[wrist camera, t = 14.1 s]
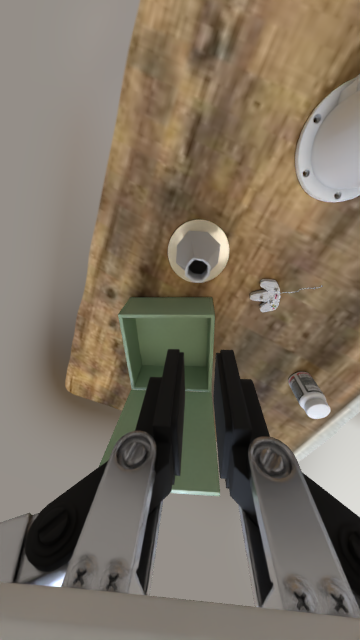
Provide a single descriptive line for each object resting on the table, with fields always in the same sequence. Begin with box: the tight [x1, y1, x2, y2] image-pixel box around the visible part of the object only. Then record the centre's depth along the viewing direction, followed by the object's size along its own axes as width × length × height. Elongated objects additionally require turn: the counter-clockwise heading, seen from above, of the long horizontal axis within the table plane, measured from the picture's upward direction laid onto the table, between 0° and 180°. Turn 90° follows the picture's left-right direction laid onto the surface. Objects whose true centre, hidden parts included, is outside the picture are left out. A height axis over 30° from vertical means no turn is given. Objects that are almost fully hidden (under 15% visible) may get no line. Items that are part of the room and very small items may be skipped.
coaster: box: [168, 219, 229, 283], centre depth 36 cm, size 10×10×1 cm
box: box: [118, 297, 215, 392], centre depth 41 cm, size 16×15×7 cm
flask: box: [176, 231, 221, 283], centre depth 31 cm, size 7×7×10 cm
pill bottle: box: [289, 372, 330, 419], centre depth 43 cm, size 5×5×8 cm
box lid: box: [99, 390, 220, 496], centre depth 33 cm, size 17×15×1 cm
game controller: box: [250, 279, 322, 312], centre depth 36 cm, size 6×12×3 cm, turn 118°
